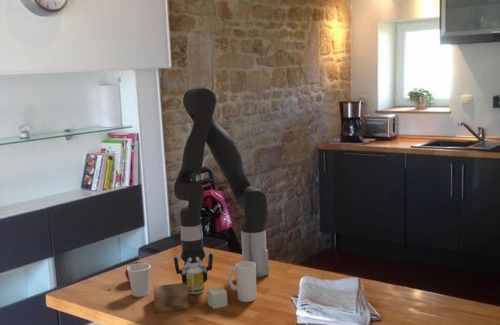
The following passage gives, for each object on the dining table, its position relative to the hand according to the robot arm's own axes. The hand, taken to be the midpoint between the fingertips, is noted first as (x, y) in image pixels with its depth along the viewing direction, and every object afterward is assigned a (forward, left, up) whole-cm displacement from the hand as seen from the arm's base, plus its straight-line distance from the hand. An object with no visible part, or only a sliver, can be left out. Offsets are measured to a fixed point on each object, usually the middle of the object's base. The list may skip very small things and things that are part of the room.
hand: (194, 282), depth 200 cm
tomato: (+20, -17, -4) cm, 26 cm away
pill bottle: (0, 0, -3) cm, 3 cm away
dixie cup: (+19, -4, -3) cm, 20 cm away
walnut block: (+9, +9, -3) cm, 13 cm away
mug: (-15, +11, -3) cm, 19 cm away
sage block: (-6, +14, -3) cm, 16 cm away
